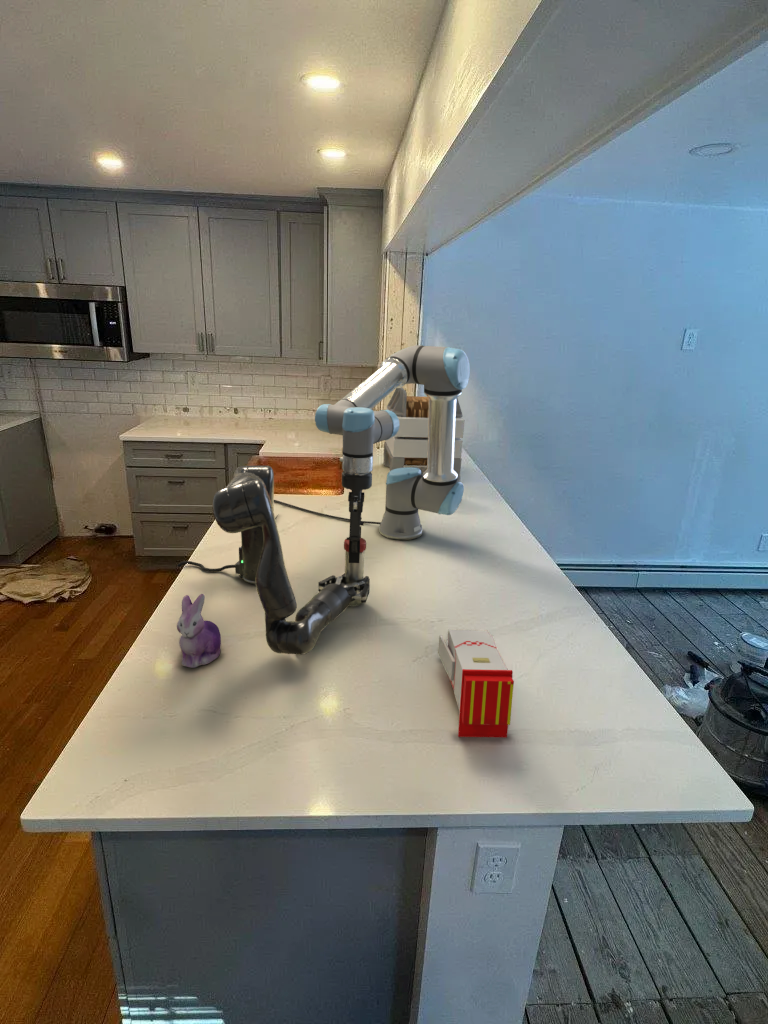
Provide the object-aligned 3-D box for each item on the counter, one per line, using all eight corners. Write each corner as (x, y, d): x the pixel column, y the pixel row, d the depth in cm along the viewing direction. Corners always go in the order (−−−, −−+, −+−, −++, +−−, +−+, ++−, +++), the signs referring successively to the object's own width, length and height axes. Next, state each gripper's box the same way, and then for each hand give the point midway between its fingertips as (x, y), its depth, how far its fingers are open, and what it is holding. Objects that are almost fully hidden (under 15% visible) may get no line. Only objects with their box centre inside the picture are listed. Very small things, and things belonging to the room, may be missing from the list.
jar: (348, 607, 150) (349, 548, 144) (341, 599, 154) (342, 541, 148) (365, 604, 152) (367, 545, 146) (358, 596, 156) (360, 538, 150)
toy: (488, 613, 130) (523, 677, 101) (484, 667, 133) (517, 744, 104) (435, 612, 130) (455, 676, 101) (432, 666, 133) (451, 743, 103)
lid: (370, 547, 148) (370, 540, 148) (358, 555, 144) (358, 547, 143) (351, 542, 151) (351, 535, 150) (339, 549, 146) (339, 542, 146)
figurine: (183, 674, 120) (177, 612, 115) (175, 649, 128) (169, 590, 123) (228, 663, 124) (224, 603, 119) (218, 640, 132) (214, 582, 127)
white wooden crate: (382, 463, 289) (386, 382, 275) (445, 464, 293) (451, 384, 279) (390, 482, 257) (394, 392, 243) (460, 483, 261) (468, 394, 247)
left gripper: (354, 597, 134) (383, 570, 149) (302, 584, 139) (335, 559, 154) (353, 625, 137) (382, 595, 152) (302, 611, 142) (334, 583, 157)
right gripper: (344, 460, 150) (342, 539, 158) (338, 482, 131) (337, 572, 138) (372, 461, 150) (369, 540, 158) (371, 484, 131) (368, 573, 138)
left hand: (358, 577), depth 153 cm, fingers closed on jar, 5 cm apart
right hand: (354, 555), depth 148 cm, fingers open, 8 cm apart
